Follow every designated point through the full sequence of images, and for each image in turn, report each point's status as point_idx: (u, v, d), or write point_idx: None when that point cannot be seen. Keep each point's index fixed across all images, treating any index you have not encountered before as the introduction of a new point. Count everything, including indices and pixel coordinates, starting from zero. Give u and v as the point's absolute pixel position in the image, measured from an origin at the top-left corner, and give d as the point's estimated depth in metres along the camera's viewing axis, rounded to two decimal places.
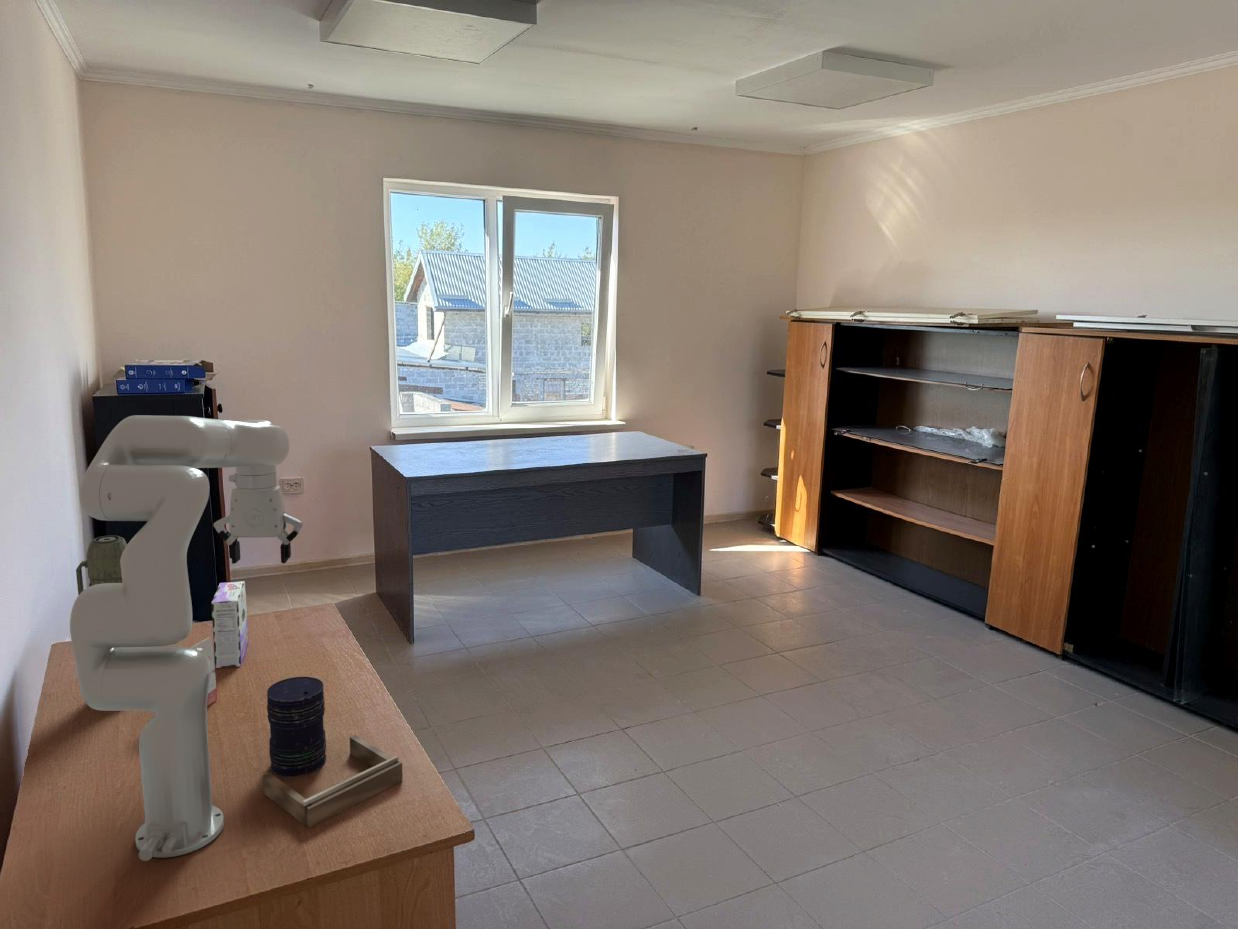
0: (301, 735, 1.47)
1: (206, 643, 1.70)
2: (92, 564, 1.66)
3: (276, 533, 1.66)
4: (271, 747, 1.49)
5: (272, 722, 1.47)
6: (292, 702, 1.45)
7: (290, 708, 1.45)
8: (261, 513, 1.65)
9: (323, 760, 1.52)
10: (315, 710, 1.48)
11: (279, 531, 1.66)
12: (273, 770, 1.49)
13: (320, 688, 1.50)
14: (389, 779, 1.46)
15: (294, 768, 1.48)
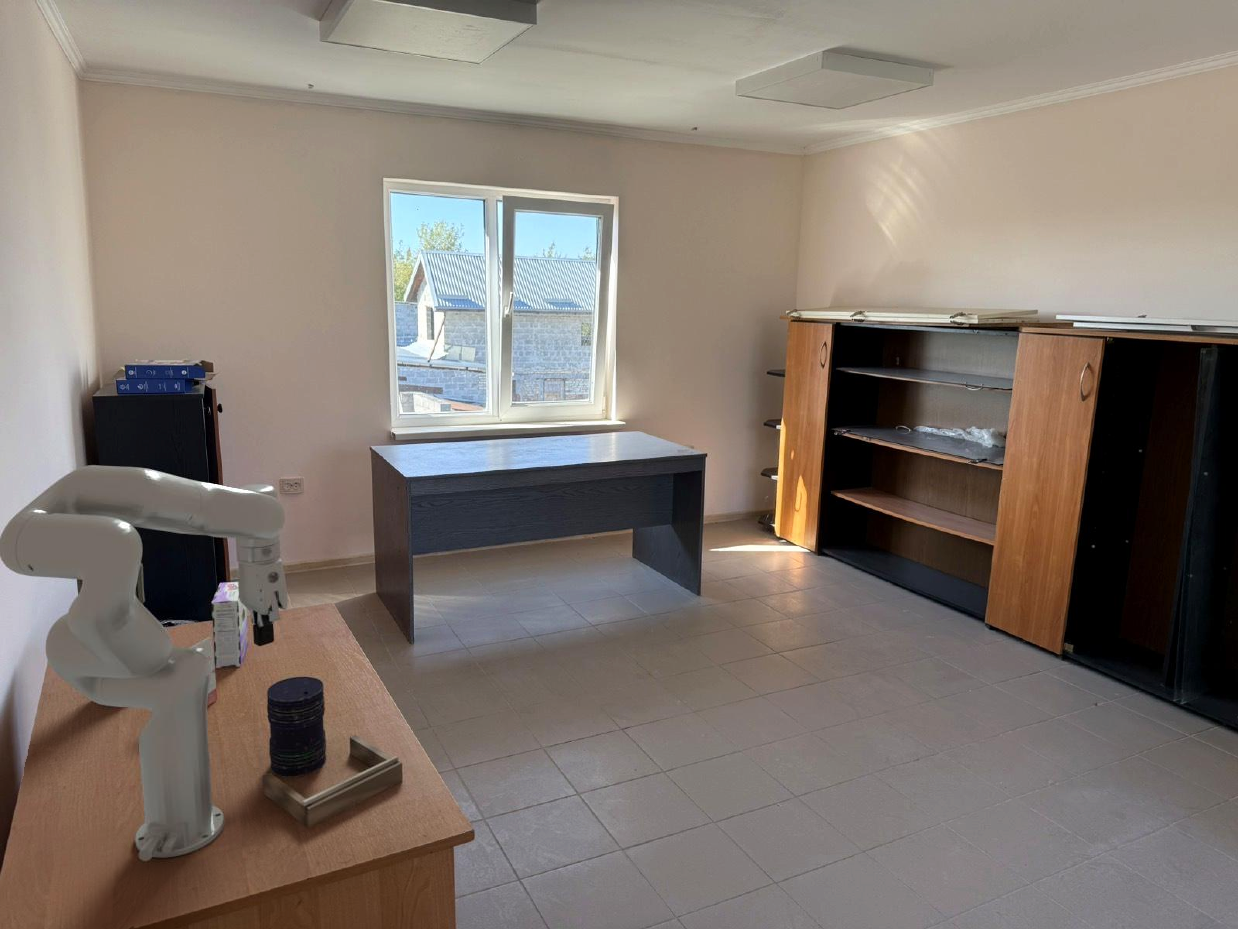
0: (301, 735, 1.47)
1: (206, 643, 1.70)
2: None
3: None
4: (271, 747, 1.49)
5: (272, 722, 1.47)
6: (292, 702, 1.45)
7: (290, 708, 1.45)
8: None
9: (323, 760, 1.52)
10: (315, 710, 1.48)
11: None
12: (273, 770, 1.49)
13: (320, 688, 1.50)
14: (389, 779, 1.46)
15: (294, 768, 1.48)
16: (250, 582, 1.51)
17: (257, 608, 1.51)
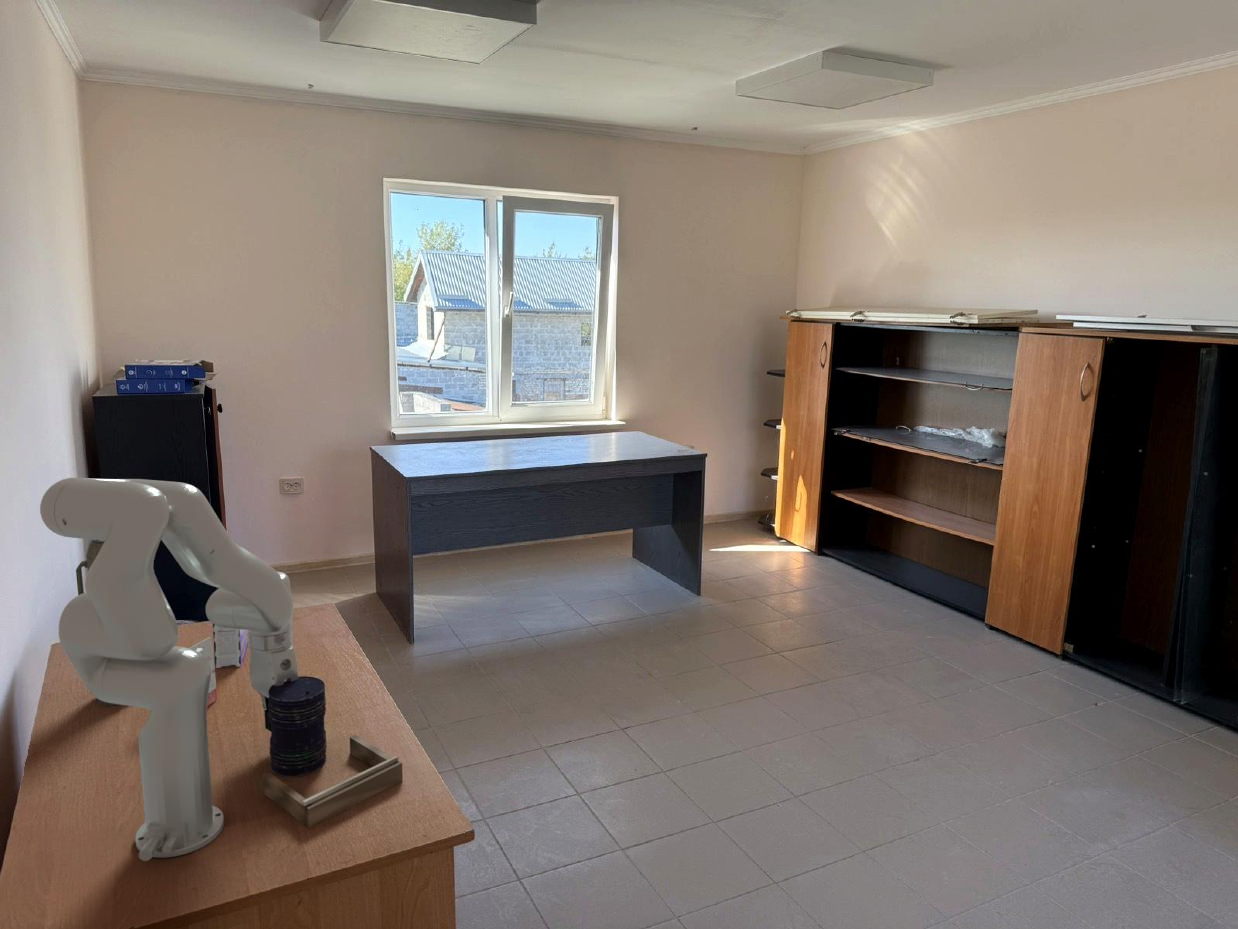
0: (302, 735, 1.47)
1: (206, 643, 1.70)
2: None
3: None
4: (272, 746, 1.48)
5: (273, 721, 1.47)
6: (293, 702, 1.45)
7: (291, 708, 1.45)
8: None
9: (323, 760, 1.52)
10: (316, 710, 1.48)
11: None
12: (273, 769, 1.49)
13: (322, 688, 1.50)
14: (389, 779, 1.46)
15: (294, 768, 1.48)
16: (262, 669, 1.52)
17: None
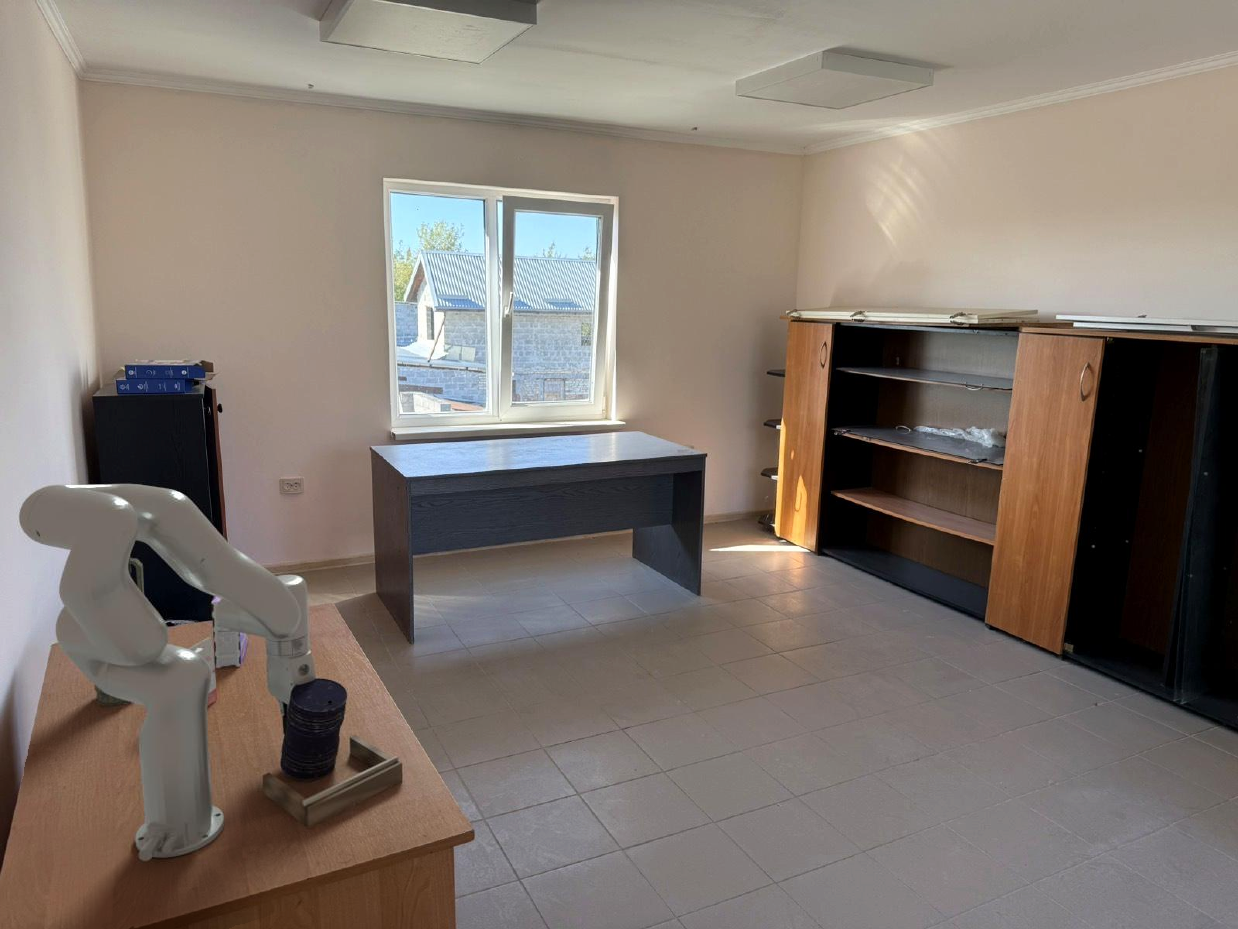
0: (318, 743, 1.45)
1: (206, 643, 1.70)
2: None
3: None
4: (285, 747, 1.46)
5: (291, 725, 1.44)
6: (316, 712, 1.42)
7: (312, 717, 1.42)
8: None
9: (333, 765, 1.51)
10: (336, 721, 1.45)
11: None
12: (283, 768, 1.47)
13: (344, 698, 1.47)
14: (389, 779, 1.46)
15: (304, 772, 1.46)
16: (280, 675, 1.49)
17: (287, 701, 1.49)
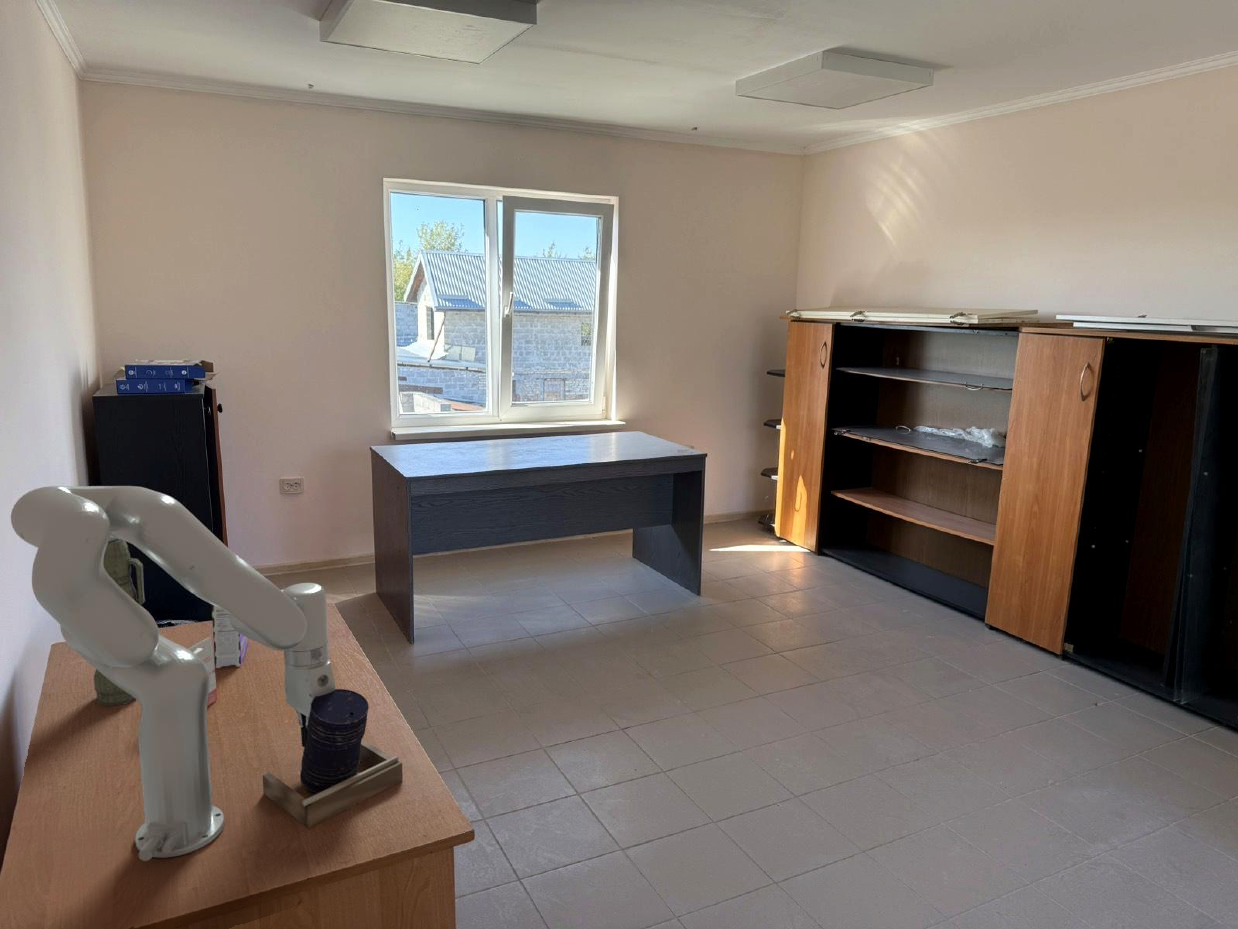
0: (340, 756, 1.41)
1: (206, 643, 1.70)
2: None
3: None
4: (306, 760, 1.42)
5: (312, 738, 1.40)
6: (338, 725, 1.38)
7: (334, 730, 1.39)
8: None
9: None
10: (358, 733, 1.42)
11: None
12: (303, 782, 1.43)
13: (365, 709, 1.44)
14: (389, 779, 1.46)
15: (326, 786, 1.42)
16: (299, 686, 1.45)
17: (306, 712, 1.45)
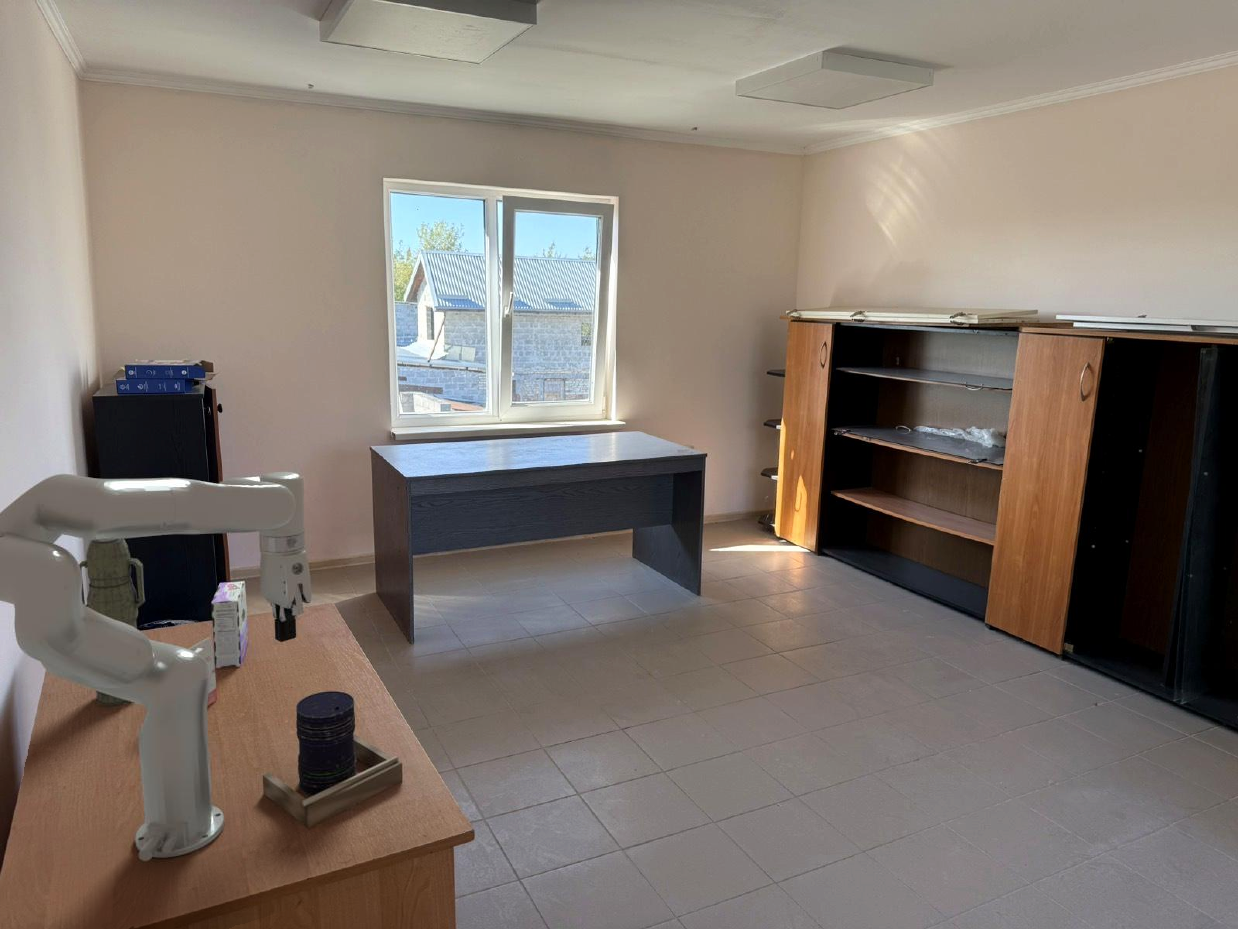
0: (333, 753, 1.42)
1: (206, 643, 1.70)
2: (92, 564, 1.66)
3: None
4: (300, 765, 1.43)
5: (302, 739, 1.41)
6: (324, 718, 1.40)
7: (321, 725, 1.40)
8: None
9: None
10: (347, 726, 1.43)
11: None
12: (302, 789, 1.44)
13: (351, 703, 1.45)
14: (389, 779, 1.46)
15: (325, 786, 1.42)
16: (273, 574, 1.44)
17: (280, 601, 1.44)
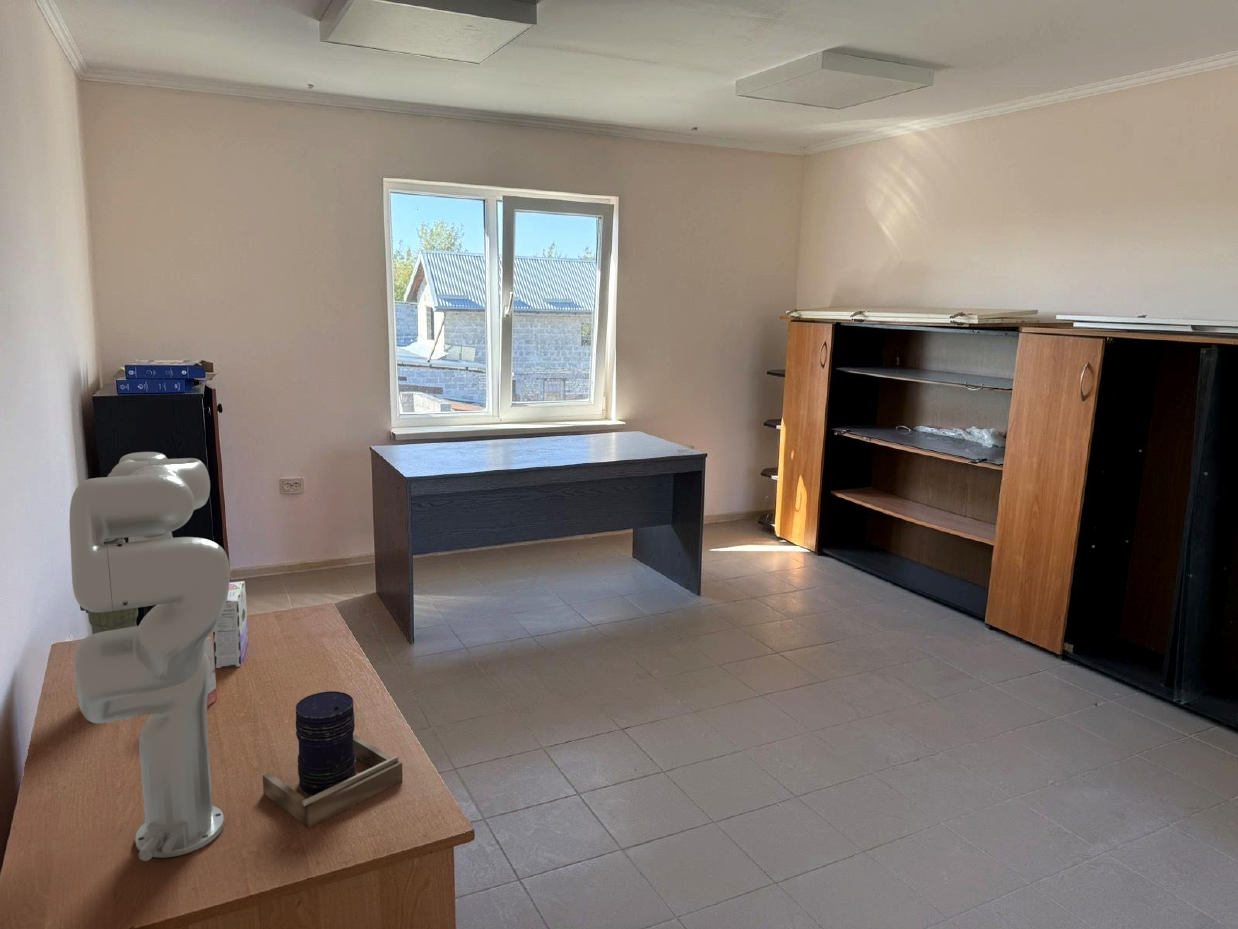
0: (332, 753, 1.42)
1: (206, 643, 1.70)
2: None
3: None
4: (300, 765, 1.43)
5: (302, 740, 1.41)
6: (323, 719, 1.40)
7: (321, 725, 1.40)
8: None
9: None
10: (346, 726, 1.43)
11: None
12: (302, 789, 1.44)
13: (350, 703, 1.45)
14: (389, 779, 1.46)
15: (324, 787, 1.42)
16: None
17: None
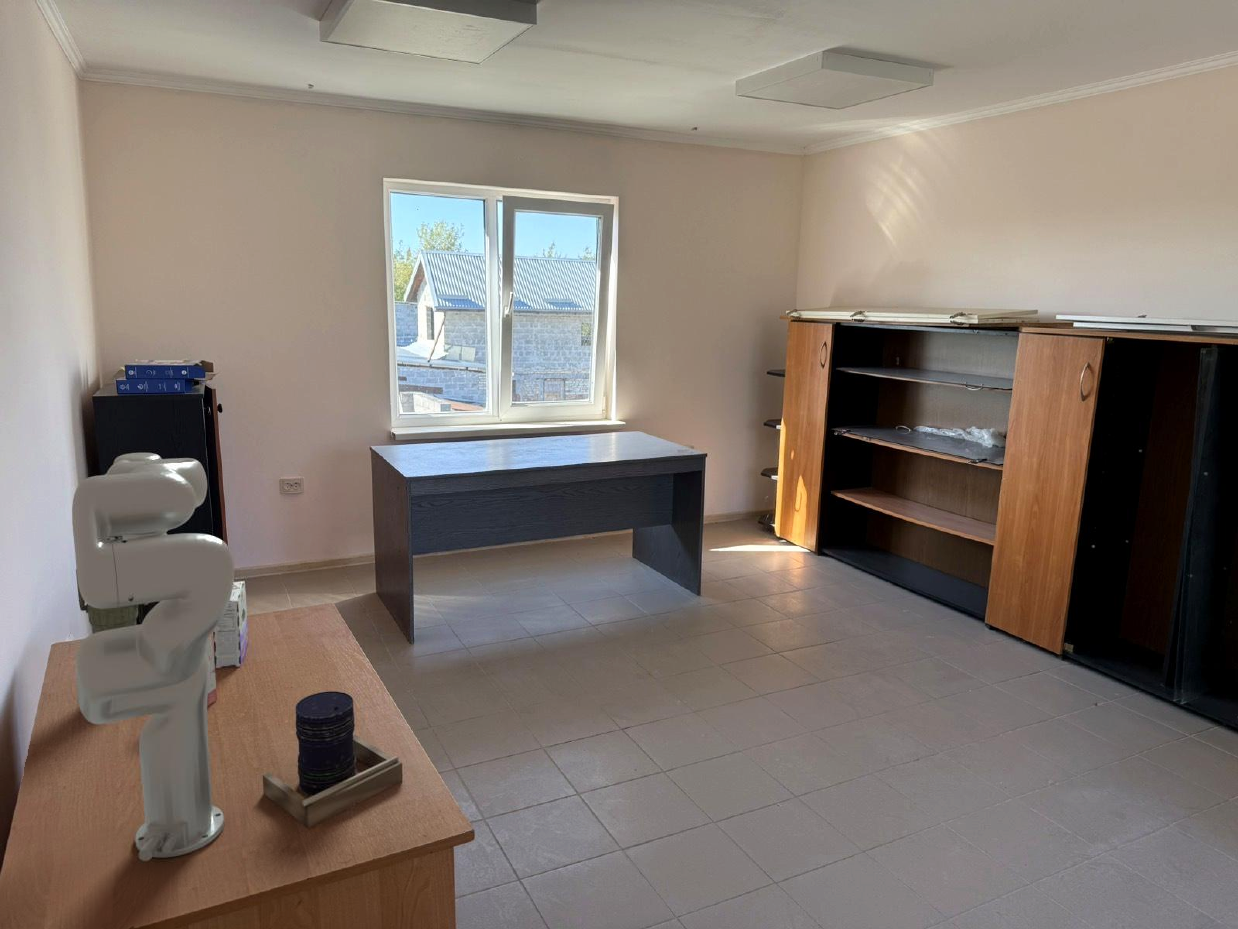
0: (332, 753, 1.42)
1: None
2: None
3: None
4: (300, 765, 1.43)
5: (302, 740, 1.41)
6: (323, 719, 1.40)
7: (321, 725, 1.40)
8: None
9: None
10: (346, 726, 1.43)
11: None
12: (302, 789, 1.44)
13: (350, 703, 1.45)
14: (389, 779, 1.46)
15: (324, 787, 1.42)
16: None
17: None
